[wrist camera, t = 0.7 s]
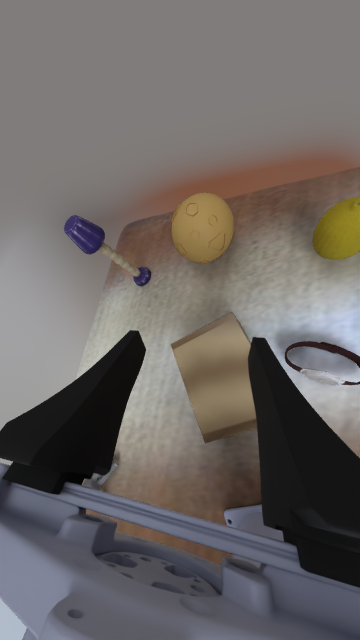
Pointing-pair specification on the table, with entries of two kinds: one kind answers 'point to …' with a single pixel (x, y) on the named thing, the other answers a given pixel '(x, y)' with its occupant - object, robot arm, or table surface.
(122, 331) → the table surface
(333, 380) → the watch
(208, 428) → the shelf
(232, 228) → the stress ball
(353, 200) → the lemon
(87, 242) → the toy lamp
